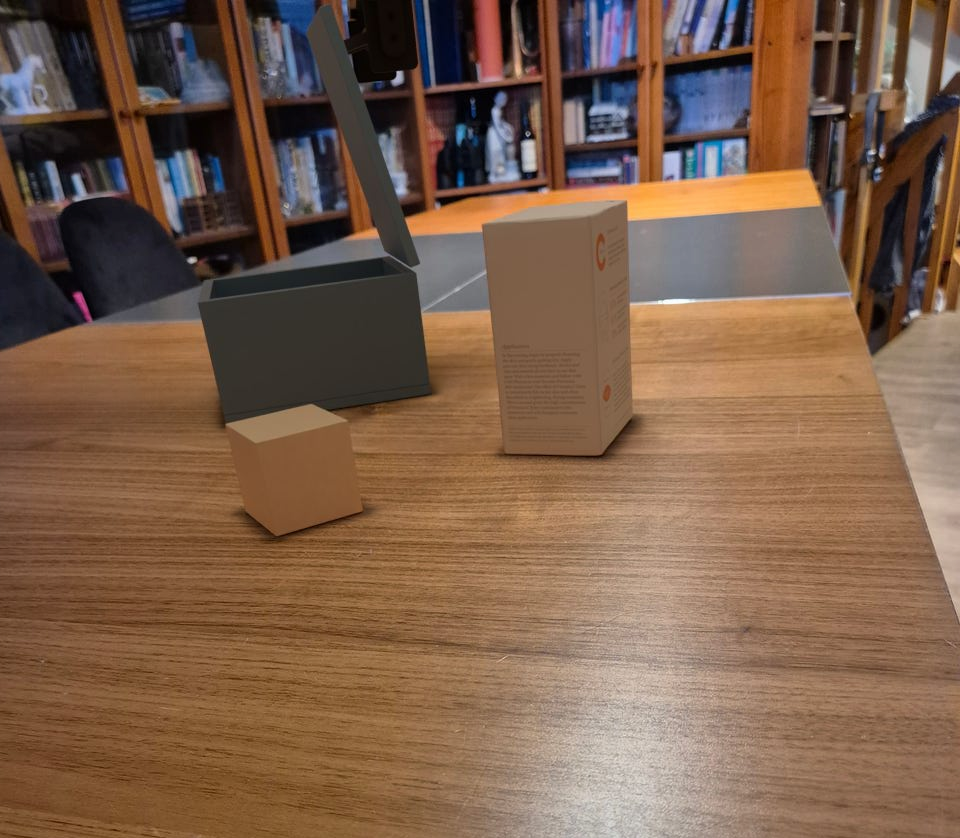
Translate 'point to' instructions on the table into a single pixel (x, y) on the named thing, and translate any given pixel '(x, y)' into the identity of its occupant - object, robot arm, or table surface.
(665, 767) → the table surface
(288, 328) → the cool box
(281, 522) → the block
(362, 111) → the cool box lid
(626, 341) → the small box
